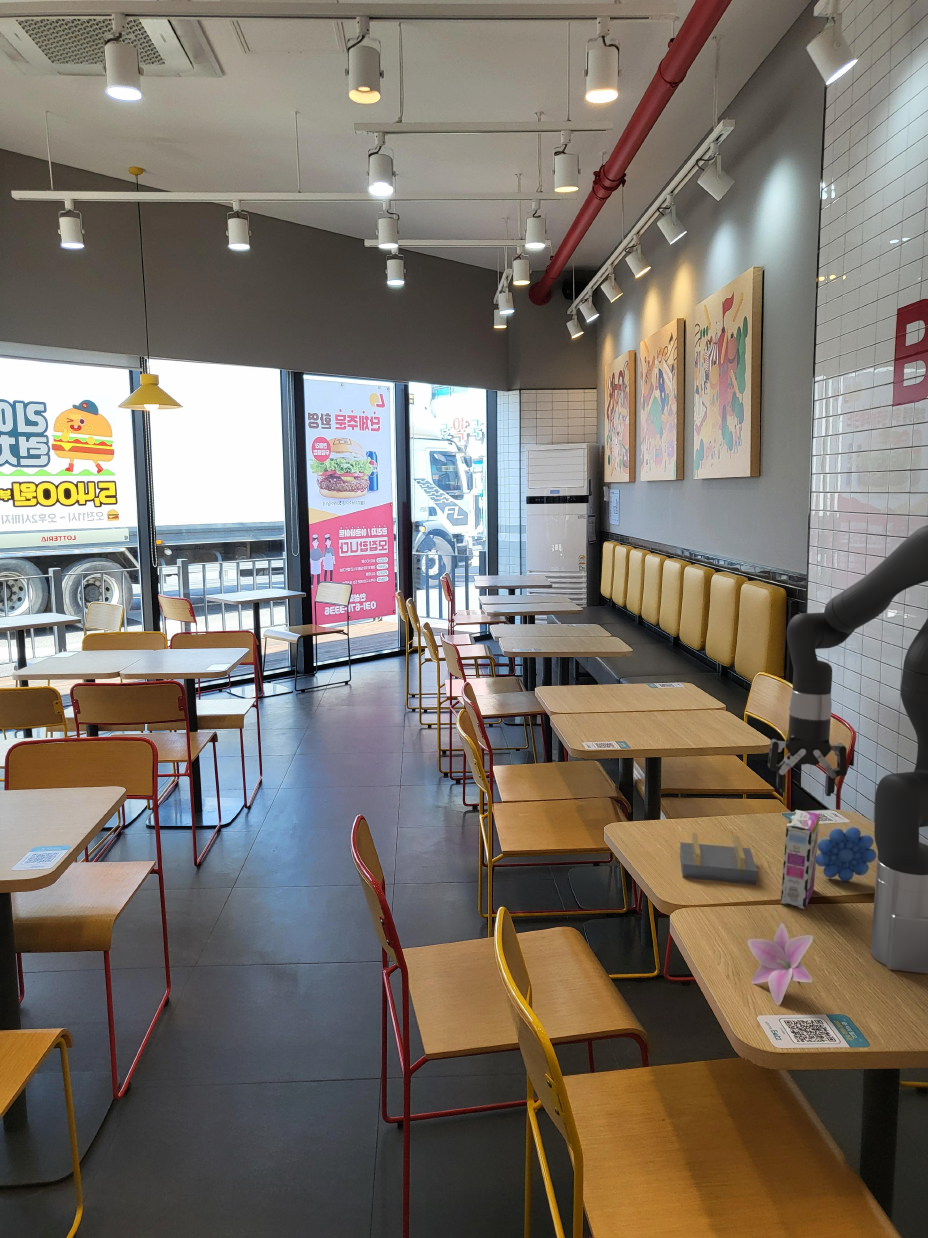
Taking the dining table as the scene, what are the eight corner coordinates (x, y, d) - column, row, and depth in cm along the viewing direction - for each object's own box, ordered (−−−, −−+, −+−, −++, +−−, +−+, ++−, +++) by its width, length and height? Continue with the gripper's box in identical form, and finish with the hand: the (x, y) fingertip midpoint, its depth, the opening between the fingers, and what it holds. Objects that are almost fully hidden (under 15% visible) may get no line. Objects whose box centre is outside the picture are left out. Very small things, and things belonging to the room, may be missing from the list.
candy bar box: (807, 911, 161) (812, 830, 159) (780, 905, 163) (784, 825, 161) (815, 889, 170) (820, 813, 168) (790, 883, 173) (794, 808, 171)
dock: (756, 884, 172) (758, 859, 171) (682, 877, 175) (683, 852, 174) (749, 861, 184) (750, 837, 183) (679, 855, 187) (680, 831, 186)
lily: (745, 967, 142) (730, 929, 139) (813, 947, 140) (799, 908, 137) (768, 1028, 131) (752, 988, 128) (842, 1007, 129) (828, 966, 126)
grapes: (872, 877, 176) (876, 823, 175) (875, 890, 170) (879, 834, 168) (813, 868, 180) (816, 815, 179) (814, 881, 174) (817, 826, 172)
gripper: (774, 716, 160) (770, 796, 162) (853, 720, 157) (847, 802, 159) (769, 707, 167) (764, 784, 169) (844, 711, 164) (838, 790, 166)
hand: (804, 793), depth 164 cm, fingers open, 8 cm apart
